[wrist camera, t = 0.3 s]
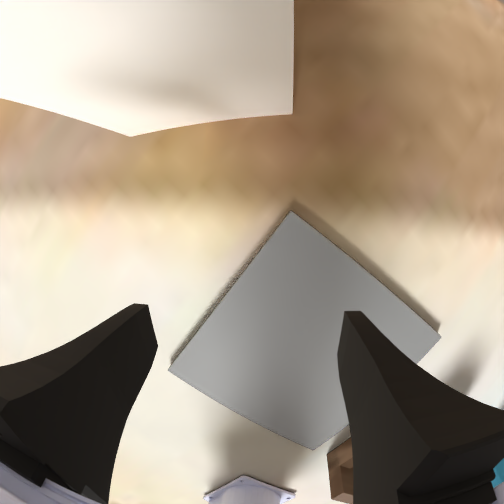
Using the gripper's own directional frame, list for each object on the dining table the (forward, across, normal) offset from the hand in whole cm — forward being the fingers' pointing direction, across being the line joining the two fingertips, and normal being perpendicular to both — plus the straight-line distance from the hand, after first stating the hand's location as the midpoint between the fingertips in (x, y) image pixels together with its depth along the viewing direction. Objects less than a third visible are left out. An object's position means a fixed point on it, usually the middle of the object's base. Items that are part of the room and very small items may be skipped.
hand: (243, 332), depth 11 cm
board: (+9, -4, +10) cm, 14 cm away
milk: (+13, +4, -13) cm, 19 cm away
